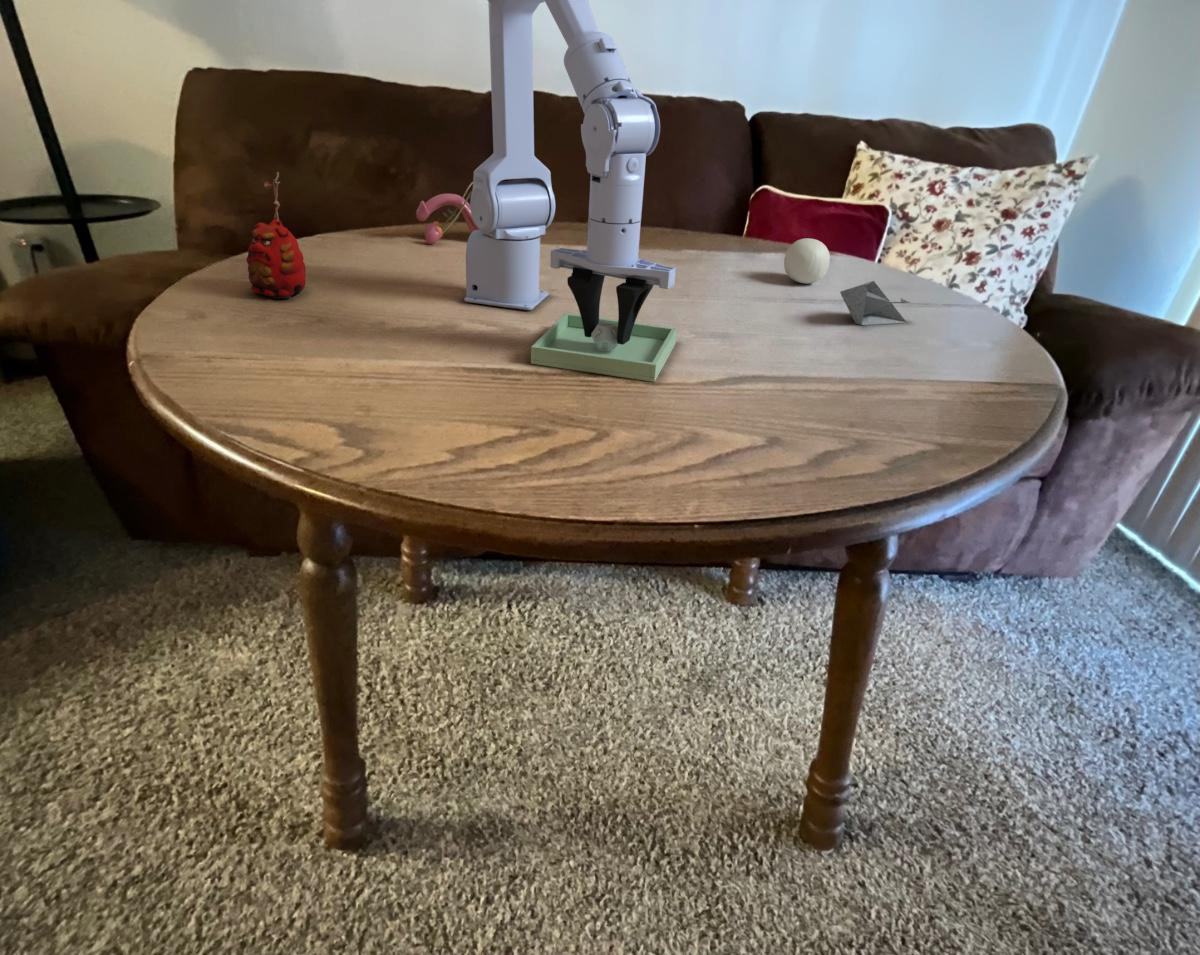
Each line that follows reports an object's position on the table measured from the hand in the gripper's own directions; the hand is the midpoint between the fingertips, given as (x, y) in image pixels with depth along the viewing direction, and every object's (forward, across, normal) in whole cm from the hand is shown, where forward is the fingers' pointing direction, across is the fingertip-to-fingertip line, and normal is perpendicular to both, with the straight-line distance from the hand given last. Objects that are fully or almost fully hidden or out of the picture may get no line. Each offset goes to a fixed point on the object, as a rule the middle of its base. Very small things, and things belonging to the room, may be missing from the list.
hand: (607, 338), depth 98 cm
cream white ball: (+2, -12, -46) cm, 48 cm away
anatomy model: (+2, +43, -35) cm, 55 cm away
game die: (+2, 0, 0) cm, 2 cm away
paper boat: (+2, -25, -31) cm, 40 cm away
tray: (+2, 0, 0) cm, 2 cm away
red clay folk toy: (+2, +46, +4) cm, 46 cm away
